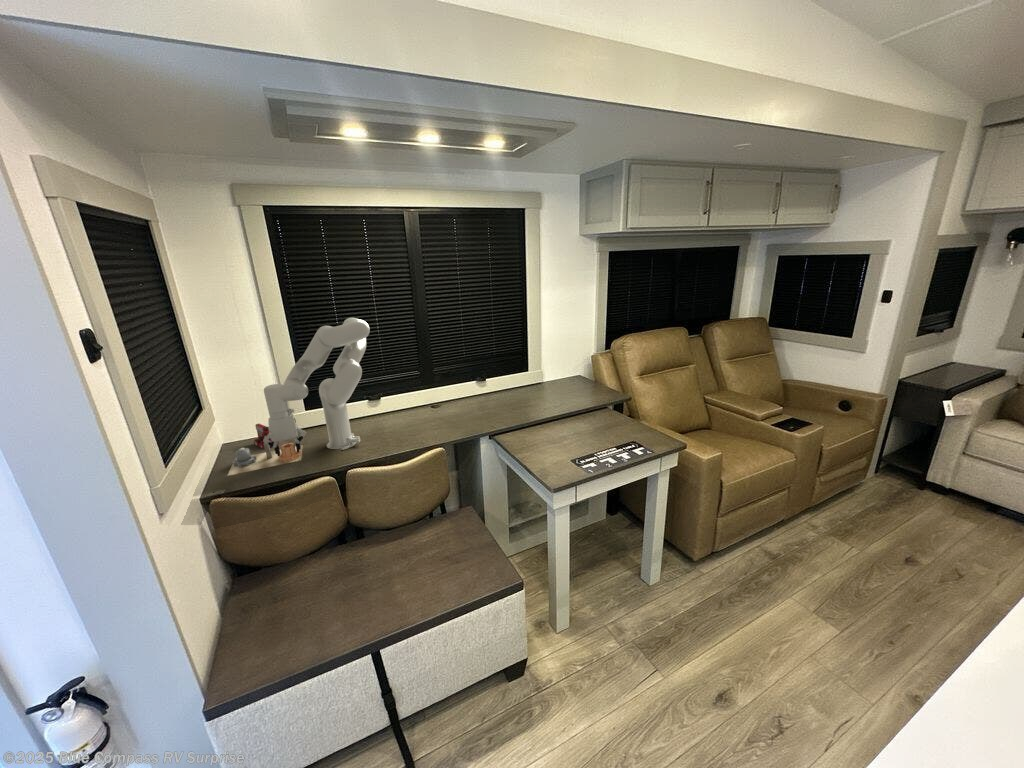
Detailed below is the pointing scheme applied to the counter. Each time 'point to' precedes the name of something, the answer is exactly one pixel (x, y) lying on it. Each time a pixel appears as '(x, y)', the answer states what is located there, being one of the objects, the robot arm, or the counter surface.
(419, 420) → the counter surface
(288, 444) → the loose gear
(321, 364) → the robot arm
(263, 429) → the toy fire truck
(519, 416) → the counter surface
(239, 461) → the grey octopus toy
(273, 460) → the gear board
